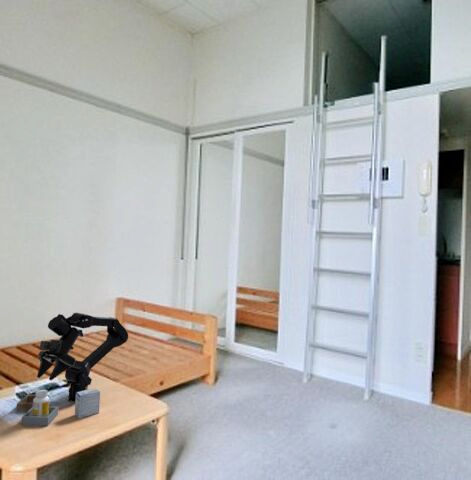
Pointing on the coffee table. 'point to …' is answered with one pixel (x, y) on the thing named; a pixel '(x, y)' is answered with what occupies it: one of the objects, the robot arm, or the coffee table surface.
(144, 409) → the coffee table surface
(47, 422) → the tray
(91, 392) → the medicine box
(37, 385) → the coffee table surface
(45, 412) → the supplement bottle
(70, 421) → the coffee table surface
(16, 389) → the coffee table surface
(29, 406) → the holder
